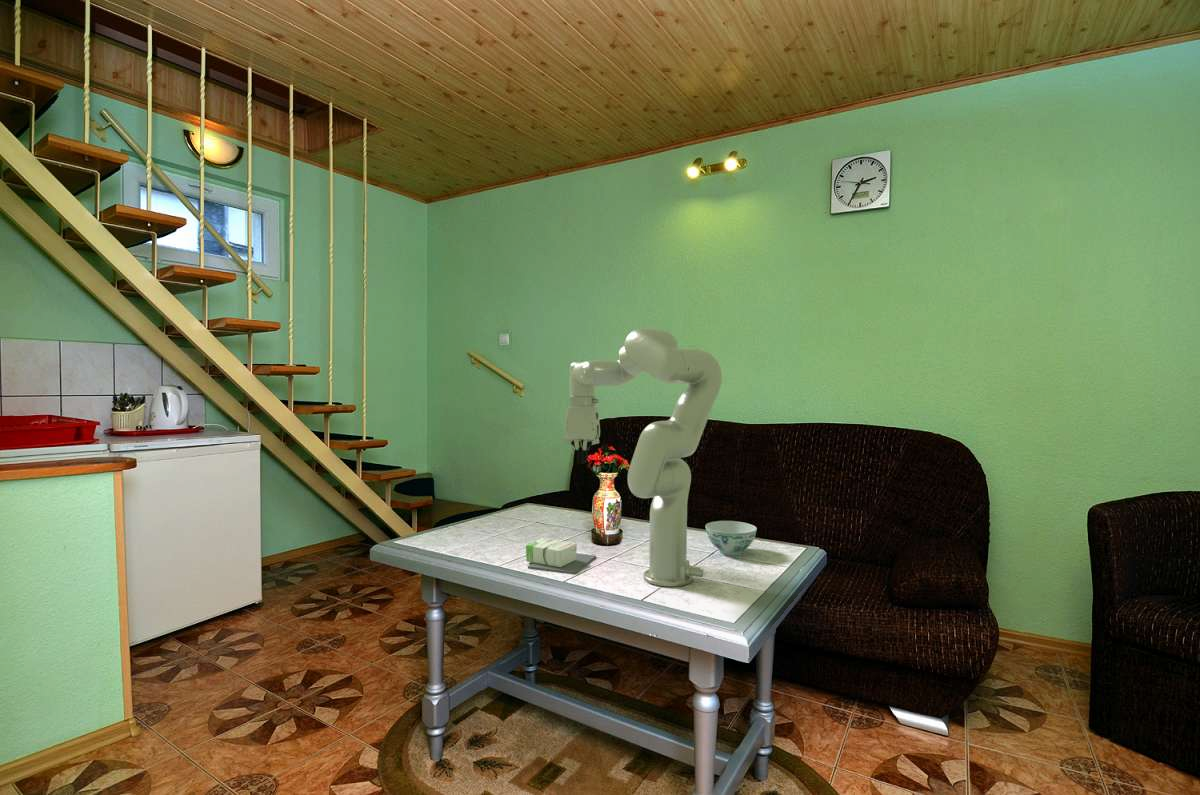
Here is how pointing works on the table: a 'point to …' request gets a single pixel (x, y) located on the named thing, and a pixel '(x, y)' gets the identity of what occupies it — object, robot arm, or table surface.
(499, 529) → the table surface
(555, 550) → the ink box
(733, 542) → the chinaware
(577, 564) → the slate mat
